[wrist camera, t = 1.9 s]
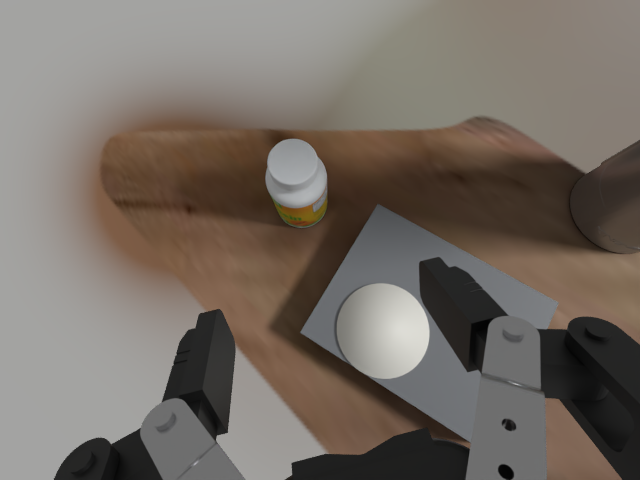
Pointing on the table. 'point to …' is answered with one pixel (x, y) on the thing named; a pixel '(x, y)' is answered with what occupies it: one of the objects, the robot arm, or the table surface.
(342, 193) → the table surface
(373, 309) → the plinth
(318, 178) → the supplement bottle
